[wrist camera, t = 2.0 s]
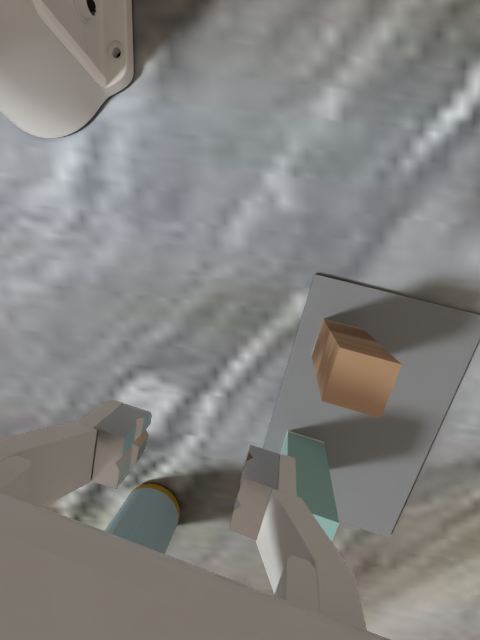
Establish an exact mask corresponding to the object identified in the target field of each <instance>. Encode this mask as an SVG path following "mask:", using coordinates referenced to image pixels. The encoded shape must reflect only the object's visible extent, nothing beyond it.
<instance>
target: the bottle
mask: <svg viewBox="0 0 480 640" xmlns="http://www.w3.org/2000/svg"><path fill="white" fill-rule="evenodd" d="M179 518H180V509H179V505H178V502H177V500H176V498H175V497H174V495H173V494H172V493H171V492H170V491H169V490H168V489H166V488H165V487H163V486H161V485H157V484H144V485H141V486H138V487H137V488H135V489H134V490H133V491H132V492H131V494H130V495H129V496H128V498H127V499H126V501H125V502H124V504H123V505H122V507H121V508H120V509H119V511H118V512H117V514H116V515H115V517H114V518H113V520H112V521H111V523H110V524H109V525H108V527H107V528H106V530H105V532H108V533H110V534H113V535H116V536H118V537H121V538H124V539H126V540H129V541H131V542H134V543H137V544H139V545H142V546H145V547H147V548H150V549H153V550H155V551H158V552H161V553H163V554H165V551H166V549H167V547H168V545H169V542H170V540H171V538H172V535H173V533H174V531H175V528H176V526H177V523H178V521H179Z"/></svg>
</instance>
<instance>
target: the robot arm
mask: <svg viewBox="0 0 480 640" xmlns="http://www.w3.org/2000/svg"><path fill="white" fill-rule="evenodd" d="M119 53H121V55H120V57H119V58H117V55H118V54H119ZM133 74H134V61H133V26H132V0H0V112H2V113H3V114H4V115H5V116H6V117H7V118H8V119H9V120H10V121H11V122H12V123H14V124H15V125H16V126H17V127H19V128H20V129H22V130H23V131H25V132H27V133H29V134H31V135H34V136H38V137H43V138H58V137H63V136H66V135H69V134H71V133H73V132H75V131H77V130H79V129H80V128H81V127H83V126H84V125H85V124H86V123H87V122H88V121H89V120H90V119H91V118H92V117H93V116H94V115H95V113H96V112H97V111H98V109H99V108H100V106H101V105H102V104H103V103H104V101H105V100H106V99H107V98H108V97H110V96H112V95H114V94H115V93H117V92H119V91H121V90H122V89H124V88H125V87H126V86H127V85H128V84H129V83H130V82H131V80H132V78H133ZM151 417H152V415H151V413H150V412H148V411H145V410H142V409H139V408H136V407H133V406H130V405H128V404H124V403H122V402H118V401H115V400H112V399H111V400H107V401H106V402H105V403H103V404H102V405H101V406H99V407H98V408H97V409H95V410H94V411H93V412H91V413H90V414H89V415H87V416H86V417H85V418H83V419H82V420H81V421H79V422H78V423H77V422H74V421H73V422H69V423H64V424H60V425H56V426H52V427H47V428H43V429H39V430H34V431H30V432H26V433H21V434H17V435H13V436H8V437H4V438H0V640H390V639H387V638H384V637H382V636H379V635H377V634H374V633H371V632H369V631H367V629H366V625H365V620H364V615H363V610H362V605H361V601H360V596H359V591H358V586H357V581H356V577H355V575H354V574H353V572H352V571H351V569H350V568H349V567H348V565H347V564H346V562H345V561H344V559H343V558H342V556H341V555H340V553H339V552H338V551H337V549H336V548H335V546H334V545H333V543H332V542H331V540H330V539H329V537H328V536H327V535H326V533H325V532H324V530H323V529H322V527H321V526H320V524H319V523H318V521H317V520H316V519H315V517H314V516H313V514H312V513H311V511H310V510H309V508H308V507H307V505H306V504H305V503H304V501H303V500H302V498H300V497H297V490H296V461H295V458H294V457H290V456H287V455H283V454H280V453H279V454H278V453H275V452H272V451H269V450H265V449H262V448H259V447H255V446H252V445H250V447H249V450H248V453H247V457H246V461H245V466H244V468H243V471H242V475H241V479H240V482H239V486H238V491H237V495H236V501H235V504H234V508H233V512H232V517H231V521H230V526H229V530H232V531H234V532H237V533H239V534H242V535H244V536H247V537H249V538H252V539H254V540H257V541H256V543H257V546H258V549H259V552H260V554H261V557H262V560H263V563H264V566H265V569H266V572H267V574H268V577H269V580H270V583H271V586H272V589H273V592H274V596H273V595H270V594H268V593H265V592H263V591H260V590H257V589H255V588H252V587H249V586H247V585H244V584H242V583H239V582H236V581H234V580H231V579H229V578H226V577H223V576H221V575H218V574H216V573H213V572H210V571H208V570H205V569H202V568H200V567H197V566H195V565H192V564H189V563H187V562H184V561H182V560H179V559H176V558H174V557H171V556H168V555H166V554H163V553H161V552H158V551H155V550H153V549H150V548H147V547H145V546H142V545H139V544H137V543H134V542H131V541H129V540H126V539H124V538H121V537H118V536H116V535H113V534H110V533H108V532H105V531H102V530H100V529H97V528H94V527H92V526H89V525H87V524H84V523H81V522H79V521H76V520H73V519H71V518H68V517H65V516H63V515H60V514H57V513H55V512H52V511H50V510H47V509H44V508H42V507H43V506H45V505H47V504H49V503H51V502H53V501H55V500H57V499H59V498H61V497H63V496H64V495H66V494H68V493H70V492H72V491H74V490H76V489H78V488H80V487H82V486H84V485H86V484H88V483H90V481H93V482H96V483H99V484H102V485H106V486H109V487H112V488H115V489H117V487H118V486H119V485H120V484H121V482H122V481H123V480H124V478H125V477H126V476H127V474H128V473H129V467H130V466H131V465H133V464H136V463H137V461H138V460H139V459H140V457H141V455H142V453H143V451H144V449H145V447H146V443H147V440H148V433H147V431H146V429H147V427H148V426H149V425H150V423H151Z"/></svg>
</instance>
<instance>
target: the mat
mask: <svg viewBox="0 0 480 640" xmlns="http://www.w3.org/2000/svg"><path fill="white" fill-rule="evenodd" d="M323 319H326V320H330V321H334V322H338V323H342V324H345V325H349V326H353V327H357V328H360V329H364V330H365V331H366V332H367V333H368V334H369V335H370V336H371V337H373V338H374V339H375V340H376V341H377V342H378V343H379V344H380V345H381V346H382V347H383V348H385V349H386V350H387V351H388V352H389V353H390V354H391V355H392V356H393V357H394V358H395V359H397V360H398V361H399V362H400V363H401V364H402V366H401V369H400V371H399V374H398V376H397V379H396V381H395V384H394V386H393V389H392V391H391V394H390V396H389V399H388V401H387V404H386V406H385V409H384V411H383V414H382V416H381V419H380V418H377V417H374V416H370V415H367V414H364V413H360V412H357V411H354V410H350V409H347V408H343V407H340V406H337V405H333V404H330V403H327V402H323V401H322V400H321V395H320V391H319V386H318V382H317V378H316V373H315V369H314V364H313V360H312V352H313V349H314V346H315V343H316V340H317V336H318V333H319V330H320V327H321V324H322V321H323ZM479 339H480V315H479V314H475V313H470V312H466V311H462V310H458V309H454V308H450V307H446V306H442V305H438V304H434V303H430V302H426V301H422V300H418V299H414V298H410V297H406V296H402V295H398V294H393V293H389V292H385V291H381V290H377V289H373V288H369V287H365V286H361V285H357V284H353V283H349V282H345V281H341V280H337V279H333V278H329V277H325V276H320V275H316V274H314V278H313V281H312V284H311V288H310V291H309V295H308V298H307V301H306V305H305V308H304V312H303V315H302V318H301V322H300V325H299V328H298V332H297V335H296V339H295V342H294V345H293V349H292V352H291V355H290V359H289V362H288V366H287V369H286V372H285V376H284V379H283V382H282V386H281V389H280V393H279V396H278V399H277V403H276V406H275V409H274V413H273V416H272V420H271V423H270V426H269V430H268V433H267V436H266V440H265V443H264V447H263V449H265V450H269V451H272V452H275V453H278V454H279V453H280V454H281V451H282V448H283V445H284V441H285V438H286V435H287V432H288V431H291V432H294V433H297V434H300V435H303V436H307V437H310V438H313V439H316V440H319V441H323V442H324V445H325V450H326V455H327V461H328V466H329V471H330V477H331V482H332V487H333V493H334V498H335V503H336V509H337V514H338V519H339V521H340V522H343V523H346V524H349V525H352V526H355V527H358V528H361V529H364V530H366V531H369V532H372V533H375V534H378V535H381V536H384V537H387V538H389V537H390V535H391V532H392V530H393V528H394V526H395V524H396V521H397V519H398V517H399V515H400V513H401V510H402V508H403V506H404V504H405V502H406V499H407V497H408V495H409V493H410V491H411V488H412V486H413V484H414V482H415V480H416V477H417V475H418V473H419V471H420V469H421V466H422V464H423V462H424V460H425V458H426V456H427V453H428V451H429V449H430V447H431V445H432V442H433V440H434V438H435V436H436V434H437V431H438V429H439V427H440V425H441V423H442V420H443V418H444V416H445V414H446V412H447V409H448V407H449V405H450V403H451V401H452V398H453V396H454V394H455V392H456V390H457V387H458V385H459V383H460V381H461V379H462V376H463V374H464V372H465V370H466V368H467V365H468V363H469V361H470V359H471V357H472V354H473V352H474V350H475V348H476V346H477V343H478V341H479Z"/></svg>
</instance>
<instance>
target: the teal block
mask: <svg viewBox="0 0 480 640" xmlns="http://www.w3.org/2000/svg"><path fill="white" fill-rule="evenodd" d="M281 454H283V455H287V456H290V457H294V458H295V461H296V490H297V497H300V498H302V500H303V501H304V503H305V504H306V505H307V507H308V508H309V510H310V511H311V513H312V514H313V516H314V517H315V519H316V520H317V521H318V523H319V524H320V526H321V527H322V529H323V530H324V532H325V533H326V535H327V536H328V537H329V539H330V540H331V542H332V540H333V537H334V535H335V532H336V530H337V527H338V525H339V519H338V514H337V509H336V503H335V498H334V493H333V487H332V482H331V477H330V471H329V466H328V461H327V455H326V450H325V445H324V442H323V441H319V440H316V439H313V438H310V437H307V436H303V435H300V434H297V433H294V432H291V431H288V432H287V435H286V438H285V441H284V445H283V448H282V451H281Z"/></svg>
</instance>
